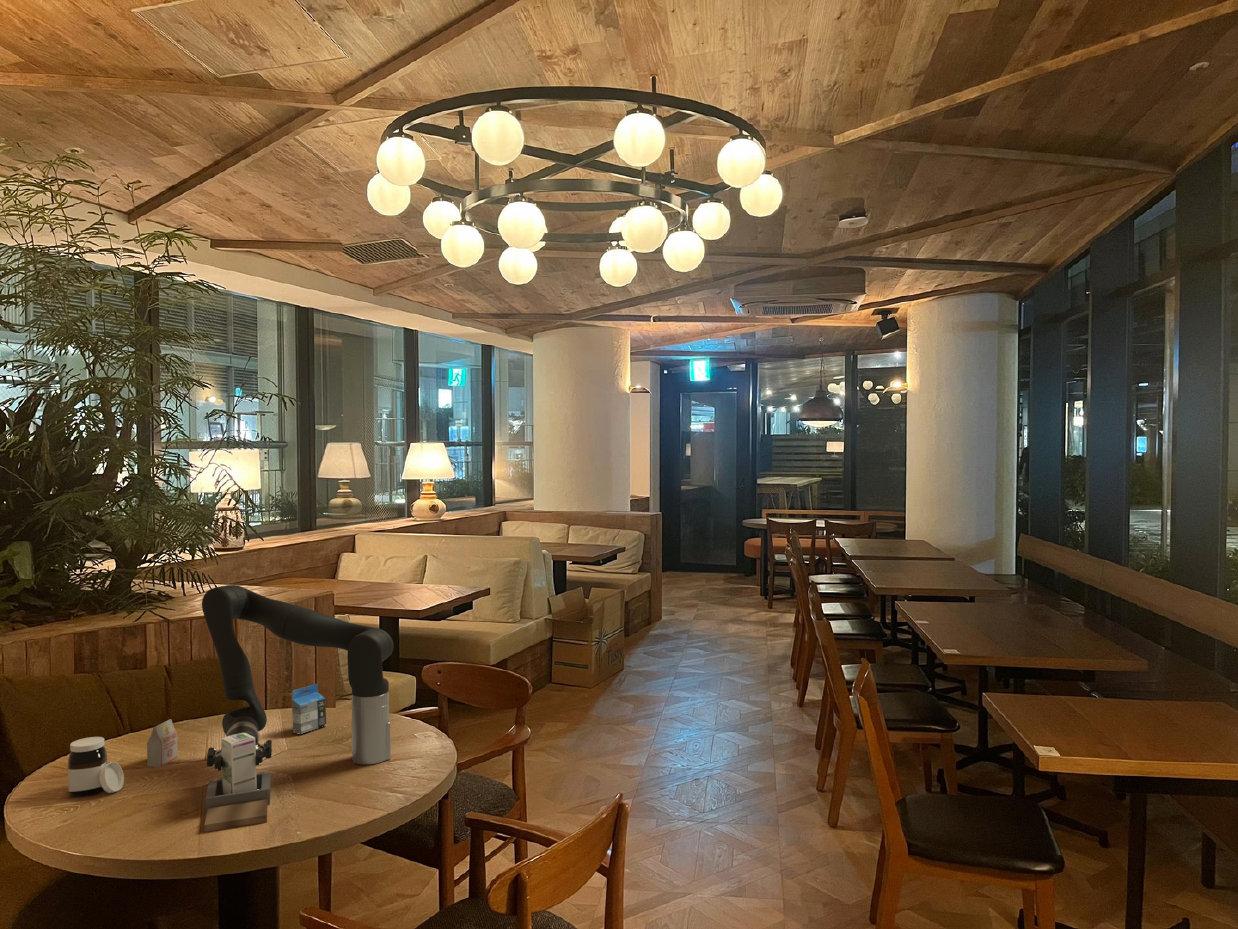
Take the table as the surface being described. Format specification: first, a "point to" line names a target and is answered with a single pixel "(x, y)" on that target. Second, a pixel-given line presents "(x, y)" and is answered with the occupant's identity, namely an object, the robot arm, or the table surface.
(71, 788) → the spread jar
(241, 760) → the syrup box
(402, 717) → the table surface
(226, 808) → the walnut pad
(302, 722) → the label tape box
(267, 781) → the gray open storage bin
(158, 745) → the white gable top carton
